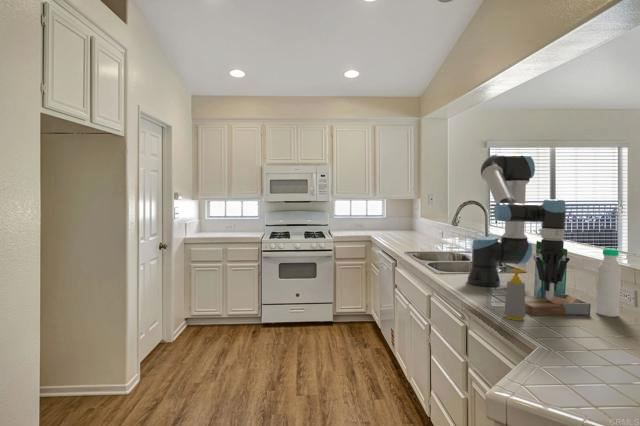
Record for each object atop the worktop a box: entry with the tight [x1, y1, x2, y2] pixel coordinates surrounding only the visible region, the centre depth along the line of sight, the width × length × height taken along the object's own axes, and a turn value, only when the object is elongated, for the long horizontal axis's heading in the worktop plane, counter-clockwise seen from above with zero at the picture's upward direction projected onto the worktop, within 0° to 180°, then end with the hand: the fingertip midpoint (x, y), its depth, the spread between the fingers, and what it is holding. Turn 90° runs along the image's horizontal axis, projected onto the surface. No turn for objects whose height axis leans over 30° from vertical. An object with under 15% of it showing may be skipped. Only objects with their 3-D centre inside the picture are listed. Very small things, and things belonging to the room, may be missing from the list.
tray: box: [544, 293, 592, 316], centre depth 152 cm, size 13×10×4 cm
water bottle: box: [595, 248, 622, 318], centre depth 146 cm, size 7×7×25 cm
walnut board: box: [525, 296, 566, 317], centre depth 152 cm, size 15×12×3 cm
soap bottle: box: [503, 268, 527, 321], centre depth 141 cm, size 7×7×18 cm
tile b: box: [561, 295, 580, 307], centre depth 152 cm, size 5×5×2 cm
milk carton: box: [533, 240, 568, 297], centre depth 165 cm, size 9×9×25 cm
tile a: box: [548, 296, 569, 305], centre depth 152 cm, size 5×5×2 cm
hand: (549, 298), depth 152 cm, fingers closed
